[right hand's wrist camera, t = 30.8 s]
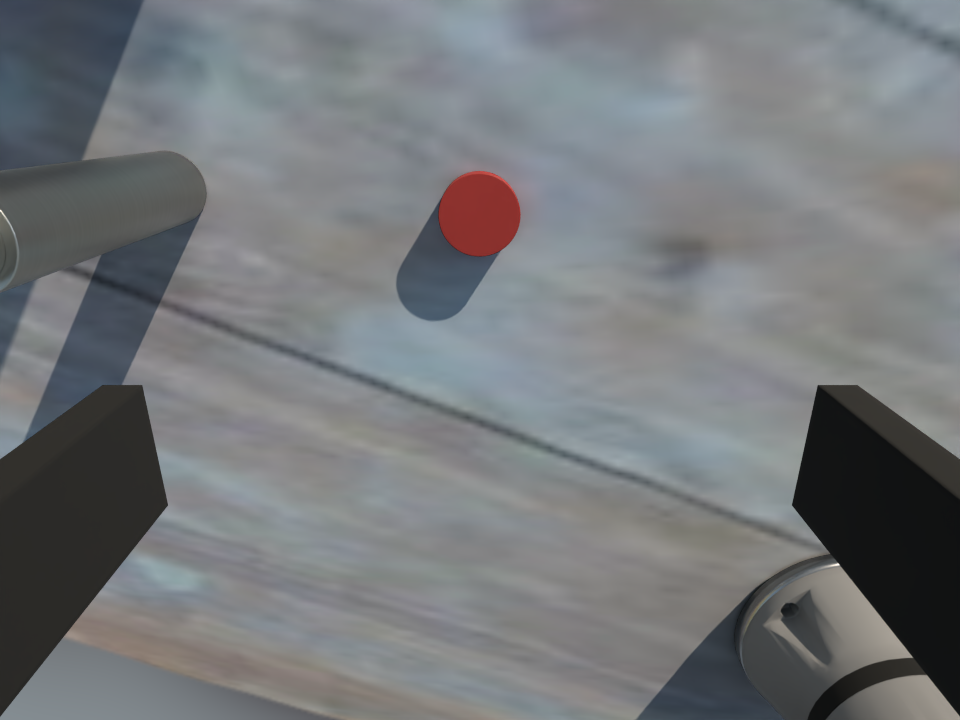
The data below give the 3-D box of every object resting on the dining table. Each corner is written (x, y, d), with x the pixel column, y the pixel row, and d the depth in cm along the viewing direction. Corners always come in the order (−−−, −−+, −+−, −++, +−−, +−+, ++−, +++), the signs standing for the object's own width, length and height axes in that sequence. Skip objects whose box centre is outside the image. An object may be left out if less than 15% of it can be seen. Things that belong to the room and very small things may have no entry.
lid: (506, 160, 39) (507, 162, 37) (527, 238, 40) (529, 243, 39) (429, 184, 39) (427, 187, 38) (453, 260, 41) (452, 266, 39)
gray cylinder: (175, 136, 38) (-79, 157, 21) (221, 201, 40) (19, 271, 22) (119, 174, 39) (-170, 224, 22) (166, 236, 40) (-70, 330, 23)
